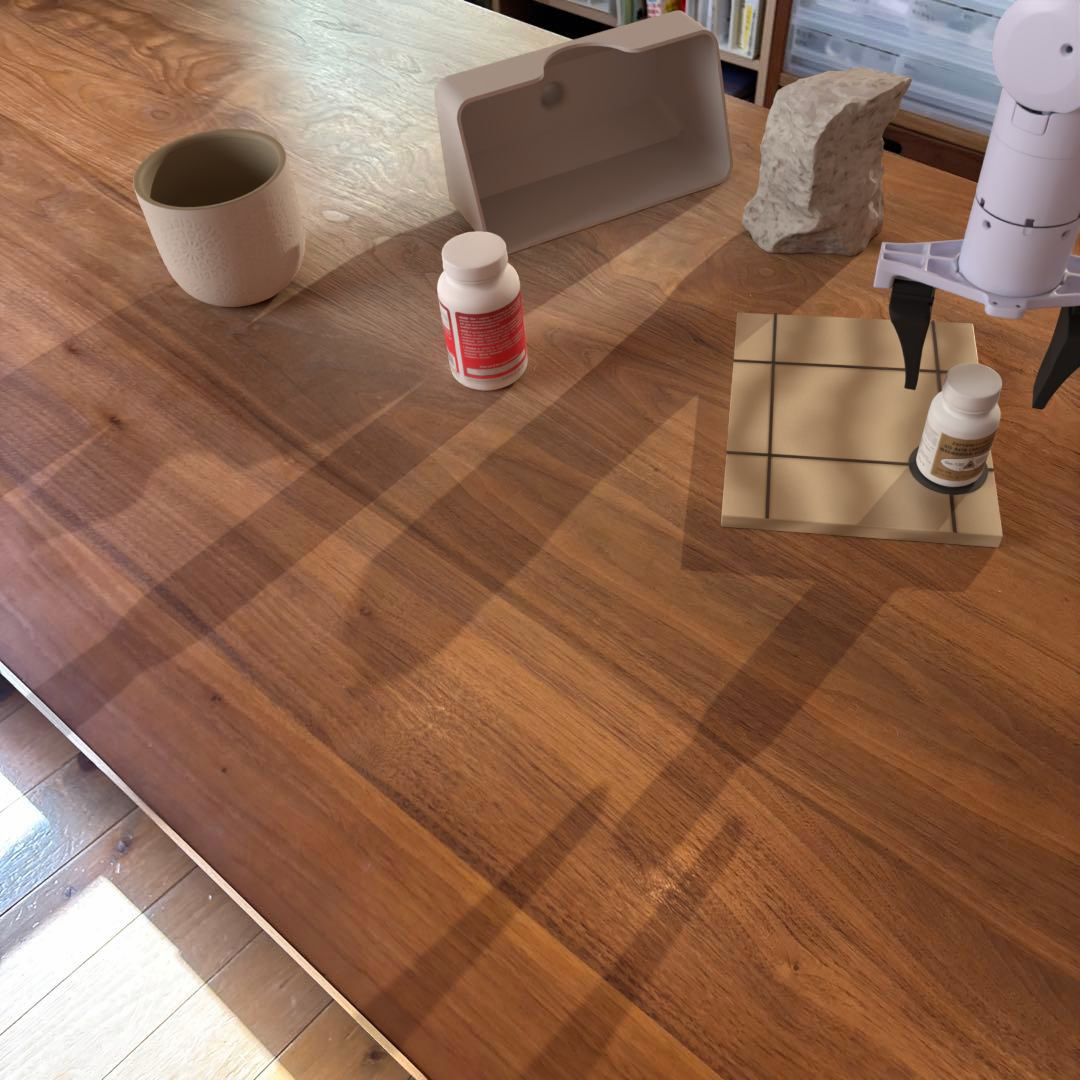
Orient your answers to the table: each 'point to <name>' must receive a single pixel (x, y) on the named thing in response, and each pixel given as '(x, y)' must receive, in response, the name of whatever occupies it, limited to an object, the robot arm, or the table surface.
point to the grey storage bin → (585, 130)
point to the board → (844, 433)
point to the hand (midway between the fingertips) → (973, 389)
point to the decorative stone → (824, 163)
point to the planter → (224, 215)
